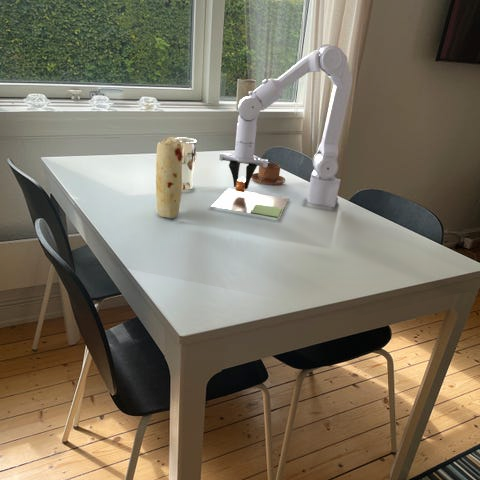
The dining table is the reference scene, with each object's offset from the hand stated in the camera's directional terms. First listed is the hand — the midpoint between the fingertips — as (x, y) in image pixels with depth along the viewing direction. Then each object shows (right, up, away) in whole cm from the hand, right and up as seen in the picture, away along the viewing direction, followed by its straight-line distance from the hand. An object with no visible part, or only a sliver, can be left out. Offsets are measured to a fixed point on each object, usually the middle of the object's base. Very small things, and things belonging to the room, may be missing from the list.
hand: (240, 187), depth 149 cm
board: (+3, -7, -4) cm, 8 cm away
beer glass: (-18, 0, +3) cm, 18 cm away
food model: (-20, -13, -18) cm, 29 cm away
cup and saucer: (+9, +6, +19) cm, 22 cm away
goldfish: (0, -1, +1) cm, 1 cm away
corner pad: (+7, -9, -10) cm, 15 cm away
